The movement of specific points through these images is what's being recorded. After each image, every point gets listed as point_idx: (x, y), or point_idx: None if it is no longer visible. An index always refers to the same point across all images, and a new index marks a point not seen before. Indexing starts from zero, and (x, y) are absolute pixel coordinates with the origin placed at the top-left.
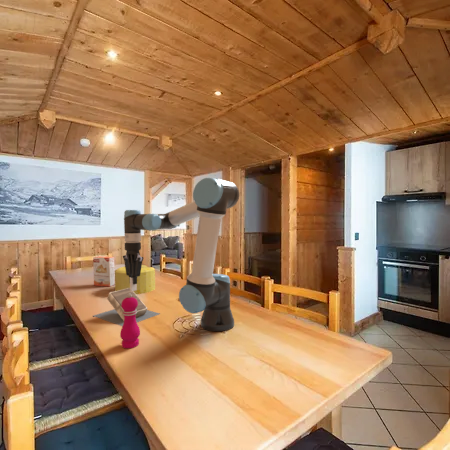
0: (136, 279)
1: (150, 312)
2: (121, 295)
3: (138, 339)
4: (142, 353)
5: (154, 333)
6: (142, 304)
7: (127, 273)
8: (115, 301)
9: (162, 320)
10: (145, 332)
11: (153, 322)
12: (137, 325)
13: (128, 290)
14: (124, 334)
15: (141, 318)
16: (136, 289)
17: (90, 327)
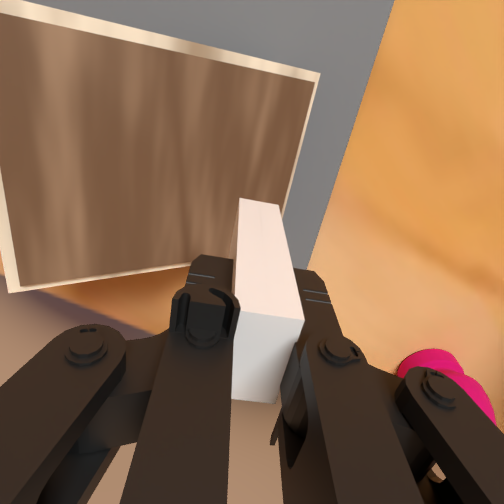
0: (334, 329)
1: (296, 3)
2: (97, 210)
3: (461, 370)
4: (495, 390)
5: (478, 271)
6: (278, 89)
7: (101, 457)
8: (134, 270)
9: (455, 105)
10: (430, 277)
11: (410, 159)
12: (496, 425)
13: (31, 78)
14: None
15: (310, 150)
16: (278, 211)
17: (148, 322)
